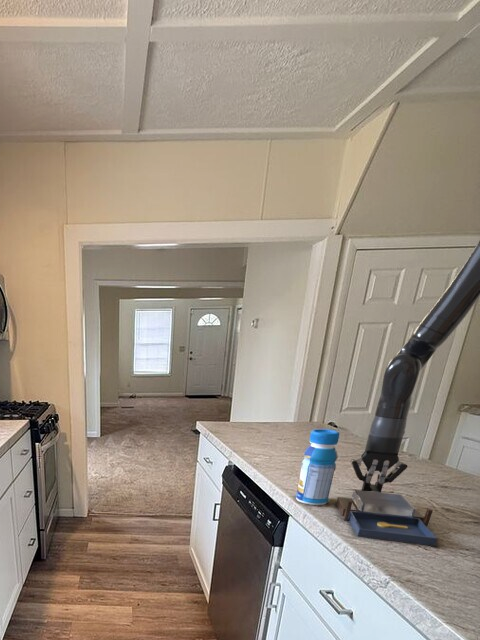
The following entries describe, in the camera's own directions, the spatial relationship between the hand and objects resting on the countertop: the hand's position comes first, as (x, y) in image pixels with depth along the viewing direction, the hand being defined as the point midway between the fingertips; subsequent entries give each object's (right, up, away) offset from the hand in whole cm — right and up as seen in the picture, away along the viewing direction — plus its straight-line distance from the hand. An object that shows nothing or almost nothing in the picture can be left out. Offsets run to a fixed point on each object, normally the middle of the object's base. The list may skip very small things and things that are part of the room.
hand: (369, 495), depth 113 cm
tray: (-7, -9, -17) cm, 20 cm away
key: (-5, -8, -16) cm, 18 cm away
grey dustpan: (-3, -2, -6) cm, 7 cm away
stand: (-4, -6, -8) cm, 11 cm away
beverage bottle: (-15, -2, +2) cm, 16 cm away
